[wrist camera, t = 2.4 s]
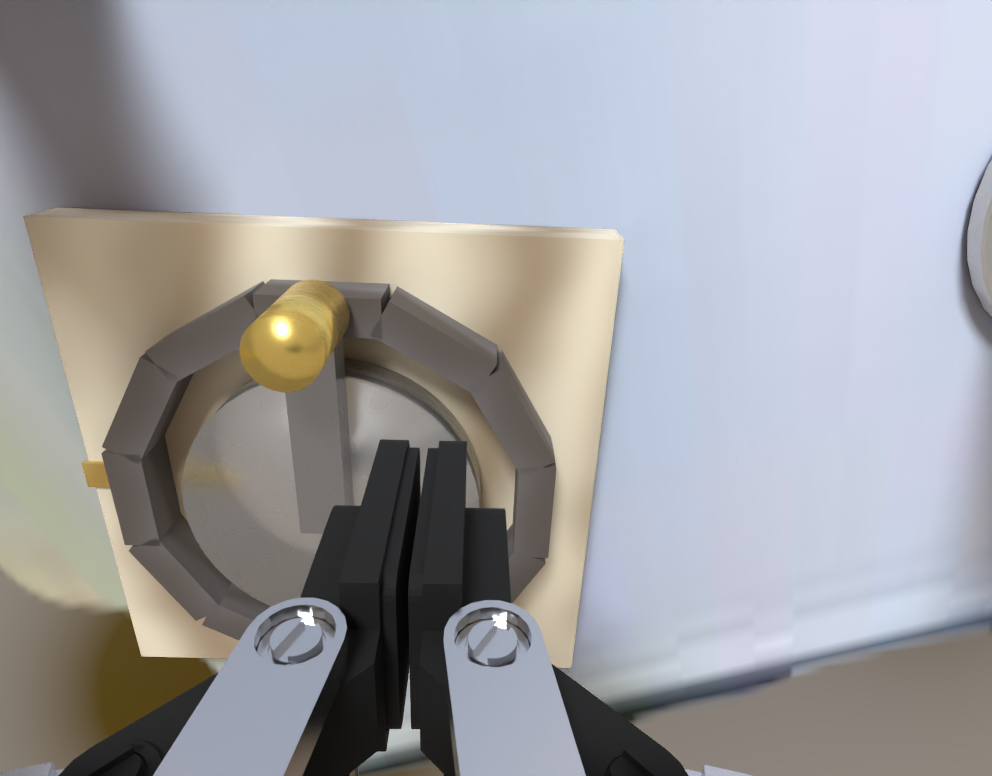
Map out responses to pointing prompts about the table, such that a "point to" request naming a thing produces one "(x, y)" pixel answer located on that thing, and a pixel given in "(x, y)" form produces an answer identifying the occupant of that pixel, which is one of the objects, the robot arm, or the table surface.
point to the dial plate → (369, 337)
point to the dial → (300, 443)
